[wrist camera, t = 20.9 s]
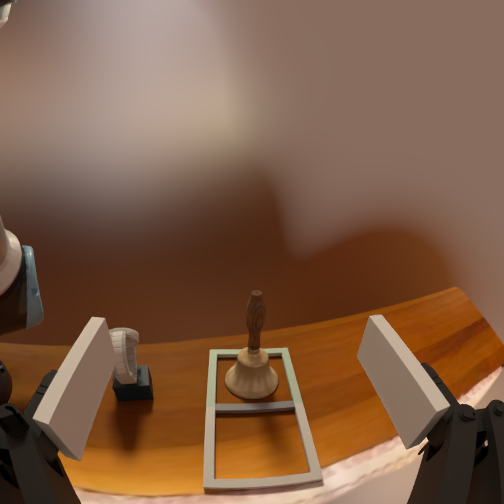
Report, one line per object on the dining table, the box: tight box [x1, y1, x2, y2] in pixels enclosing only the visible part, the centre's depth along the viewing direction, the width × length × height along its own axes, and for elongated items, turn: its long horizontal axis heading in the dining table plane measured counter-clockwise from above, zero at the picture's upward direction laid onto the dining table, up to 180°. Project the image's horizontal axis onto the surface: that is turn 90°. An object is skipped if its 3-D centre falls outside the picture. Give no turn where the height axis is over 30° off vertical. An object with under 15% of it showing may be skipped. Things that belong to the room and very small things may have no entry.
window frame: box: [203, 348, 323, 490], centre depth 34 cm, size 13×26×1 cm, turn 4°
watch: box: [109, 328, 154, 401], centre depth 33 cm, size 6×8×11 cm
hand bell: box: [225, 290, 278, 399], centre depth 37 cm, size 8×8×16 cm
